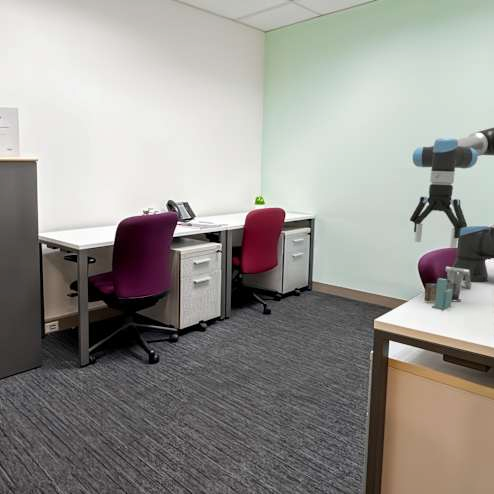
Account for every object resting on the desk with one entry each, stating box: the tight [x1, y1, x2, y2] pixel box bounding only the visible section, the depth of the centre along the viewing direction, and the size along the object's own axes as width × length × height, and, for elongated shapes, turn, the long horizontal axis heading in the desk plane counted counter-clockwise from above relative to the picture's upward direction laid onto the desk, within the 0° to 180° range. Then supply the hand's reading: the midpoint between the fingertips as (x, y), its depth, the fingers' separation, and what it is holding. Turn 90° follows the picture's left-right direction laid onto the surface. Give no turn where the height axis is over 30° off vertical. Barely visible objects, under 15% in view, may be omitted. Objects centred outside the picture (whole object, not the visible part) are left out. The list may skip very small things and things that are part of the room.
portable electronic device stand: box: [445, 266, 473, 291], centre depth 189 cm, size 9×8×8 cm
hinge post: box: [451, 271, 462, 303], centre depth 169 cm, size 4×4×10 cm
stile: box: [431, 277, 453, 311], centre depth 160 cm, size 6×4×10 cm, turn 137°
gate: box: [424, 282, 454, 302], centre depth 166 cm, size 11×2×6 cm, turn 111°
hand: (434, 244), depth 167 cm, fingers open, 13 cm apart
